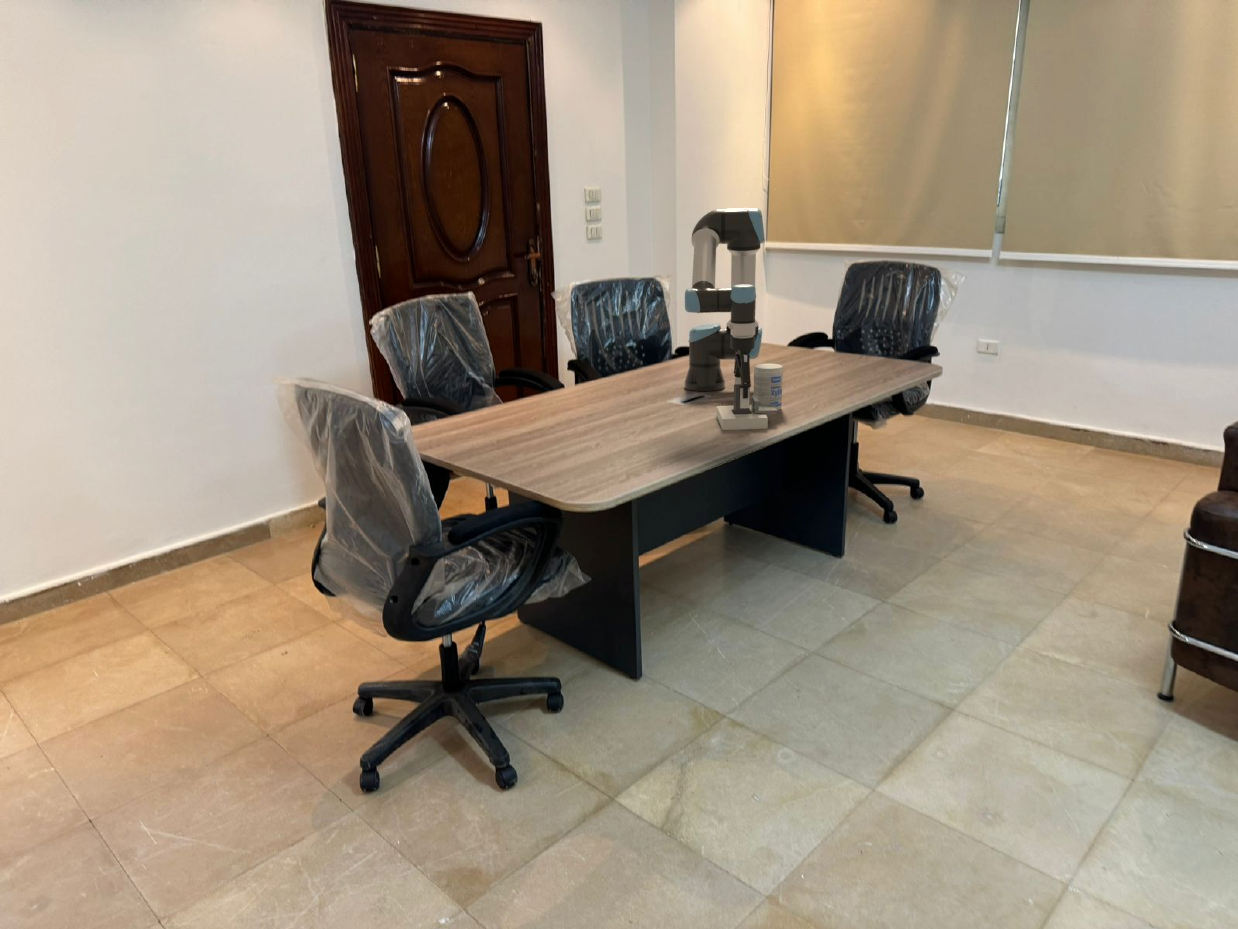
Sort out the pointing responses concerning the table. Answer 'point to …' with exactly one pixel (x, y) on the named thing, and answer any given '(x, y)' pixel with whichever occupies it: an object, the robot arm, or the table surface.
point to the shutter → (762, 407)
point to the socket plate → (740, 419)
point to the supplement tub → (768, 384)
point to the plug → (737, 401)
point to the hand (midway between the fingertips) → (741, 402)
